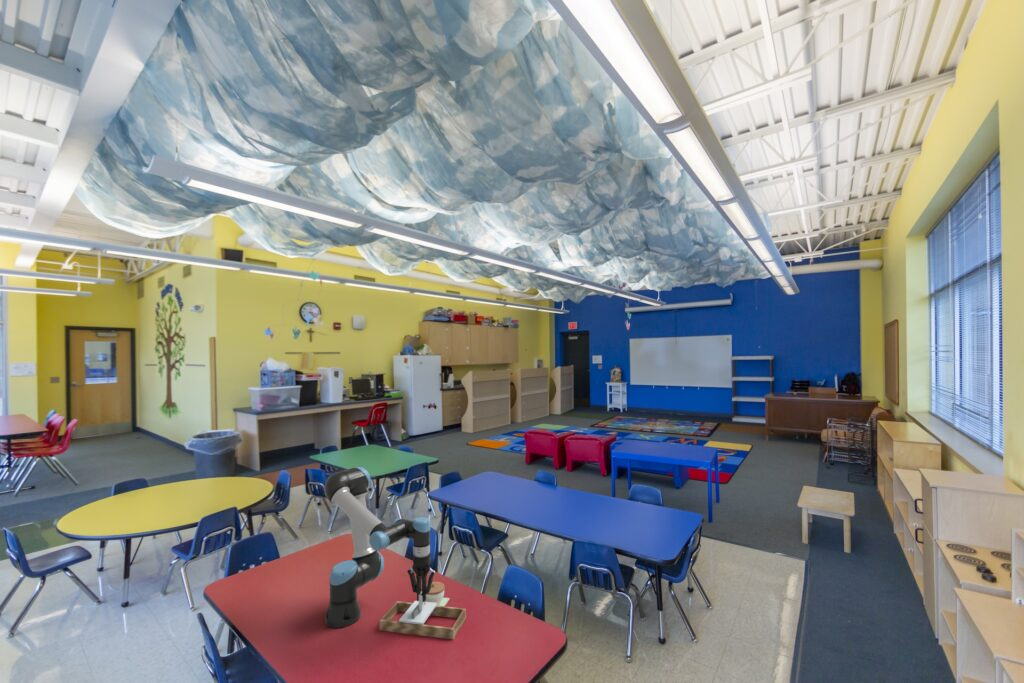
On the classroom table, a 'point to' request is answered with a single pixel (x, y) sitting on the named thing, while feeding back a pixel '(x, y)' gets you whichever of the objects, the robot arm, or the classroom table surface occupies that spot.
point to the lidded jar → (436, 593)
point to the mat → (444, 602)
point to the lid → (418, 613)
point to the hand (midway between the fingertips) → (421, 608)
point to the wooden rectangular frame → (423, 629)
